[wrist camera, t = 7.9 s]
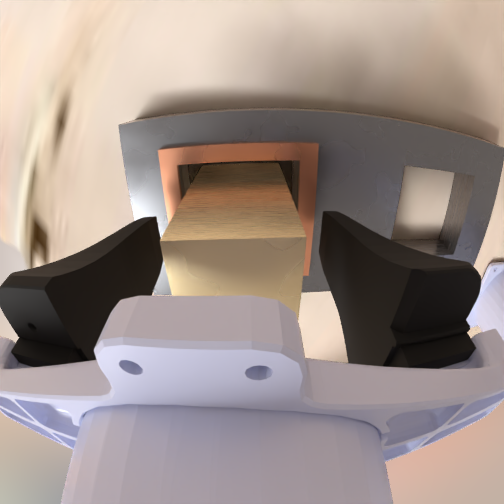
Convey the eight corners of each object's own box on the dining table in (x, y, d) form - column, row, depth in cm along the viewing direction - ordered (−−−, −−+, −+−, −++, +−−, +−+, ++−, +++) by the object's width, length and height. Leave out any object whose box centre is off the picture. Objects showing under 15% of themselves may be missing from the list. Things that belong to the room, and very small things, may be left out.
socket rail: (486, 140, 13) (508, 149, 11) (455, 264, 18) (470, 281, 16) (134, 120, 13) (115, 125, 11) (161, 275, 18) (153, 297, 16)
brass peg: (278, 162, 14) (306, 237, 7) (277, 230, 16) (295, 336, 10) (202, 165, 14) (159, 241, 8) (208, 232, 16) (183, 338, 10)
